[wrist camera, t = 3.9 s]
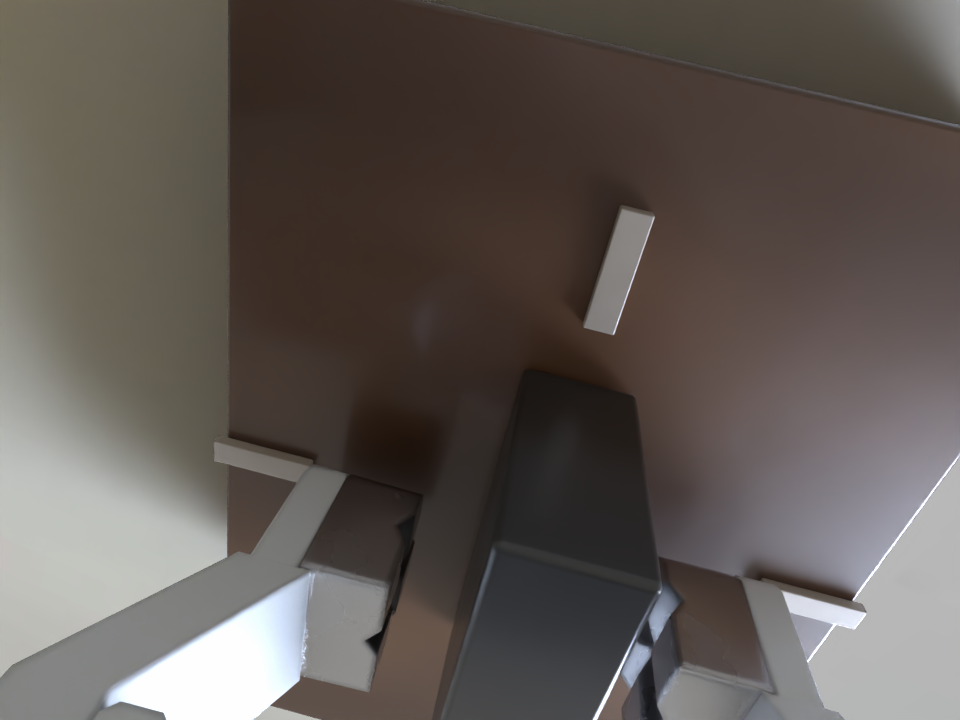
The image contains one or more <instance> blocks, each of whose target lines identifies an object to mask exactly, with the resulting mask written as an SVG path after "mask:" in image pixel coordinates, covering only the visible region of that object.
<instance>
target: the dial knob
mask: <svg viewBox="0 0 960 720" xmlns="http://www.w3.org/2000/svg"><path fill="white" fill-rule="evenodd" d="M661 592H662V581H661V574H660V567H659V560H658V553H657V545H656V538H655V531H654V524H653V517H652V510H651V502H650V495H649V488H648V481H647V474H646V466H645V459H644V452H643V445H642V438H641V430H640V423H639V416H638V409H637V402H636V398H635V397H634V396H632V395H630V394H626V393H622V392H618V391H615V390H611V389H607V388H603V387H599V386H595V385H591V384H587V383H583V382H579V381H575V380H571V379H567V378H563V377H559V376H555V375H551V374H547V373H543V372H540V371H536V370H532V369H527V370H525V372H524V373H523V374H522V377H521V381H520V385H519V388H518V392H517V395H516V399H515V403H514V406H513V410H512V414H511V417H510V421H509V425H508V428H507V432H506V435H505V439H504V443H503V446H502V450H501V454H500V457H499V461H498V465H497V468H496V472H495V475H494V479H493V483H492V486H491V490H490V494H489V497H488V501H487V505H486V508H485V512H484V515H483V519H482V523H481V526H480V530H479V534H478V537H477V541H476V544H475V548H474V552H473V555H472V559H471V563H470V566H469V570H468V574H467V577H466V581H465V584H464V588H463V592H462V595H461V599H460V603H459V606H458V610H457V614H456V617H455V621H454V624H453V628H452V632H451V636H450V641H449V645H448V649H447V654H446V658H445V663H444V667H443V672H442V676H441V681H440V685H439V690H438V694H437V699H436V703H435V707H434V712H433V716H432V720H597V718H598V717H599V715H600V713H601V711H602V709H603V707H604V705H605V703H606V701H607V699H608V697H609V695H610V693H611V691H612V689H613V687H614V685H615V683H616V681H617V679H618V677H619V675H620V673H621V671H622V669H623V667H624V665H625V663H626V661H627V659H628V657H629V655H630V653H631V651H632V649H633V647H634V645H635V643H636V641H637V639H638V638H639V636H640V634H641V632H642V630H643V628H644V626H645V624H646V622H647V620H648V618H649V616H650V614H651V612H652V610H653V608H654V606H655V604H656V602H657V600H658V598H659V596H660V594H661Z"/></svg>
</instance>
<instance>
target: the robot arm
mask: <svg viewBox="0 0 960 720" xmlns="http://www.w3.org/2000/svg"><path fill="white" fill-rule="evenodd" d="M422 504H423V495H422V494H419V493H415V492H412V491H408V490H405V489H401V488H398V487H395V486H391V485H388V484H384V483H381V482H377V481H374V480H370V479H367V478H363V477H360V476H356V475H353V474H350V475H349V474H346V473H343V472H339V471H336V470H332V469H329V468H326V467H322V466H319V465H315V464H313V465H312V466H310V467H309V468H308V469H306V470H305V471H304V473H303V474H302V476H301V477H300V479H299V480H298V482H297V483H296V485H295V487H294V488H293V490H292V491H291V493H290V494H289V496H288V497H287V499H286V500H285V502H284V504H283V505H282V507H281V508H280V510H279V511H278V513H277V514H276V516H275V517H274V519H273V521H272V522H271V524H270V525H269V527H268V528H267V530H266V531H265V533H264V535H263V536H262V538H261V539H260V541H259V542H258V544H257V545H256V547H255V548H254V550H253V552H252V553H251V554H247V553H242V552H237V553H235V554H233V555H231V556H229V557H227V558H225V559H223V560H221V561H219V562H217V563H215V564H213V565H211V566H209V567H207V568H205V569H203V570H201V571H199V572H197V573H195V574H193V575H191V576H189V577H187V578H185V579H183V580H181V581H179V582H177V583H175V584H173V585H171V586H169V587H167V588H165V589H163V590H161V591H159V592H157V593H155V594H153V595H151V596H149V597H147V598H145V599H143V600H141V601H139V602H137V603H135V604H133V605H131V606H129V607H127V608H125V609H123V610H121V611H119V612H117V613H115V614H113V615H111V616H109V617H107V618H105V619H103V620H101V621H99V622H97V623H95V624H93V625H91V626H89V627H87V628H85V629H83V630H81V631H79V632H77V633H75V634H73V635H71V636H69V637H67V638H65V639H63V640H61V641H59V642H57V643H55V644H53V645H51V646H49V647H47V648H45V649H43V650H41V651H39V652H37V653H35V654H33V655H31V656H29V657H27V658H25V659H23V660H21V661H19V662H17V663H15V664H13V665H12V666H11V667H10V668H9V669H8V670H7V671H6V672H5V673H4V675H3V676H2V677H1V678H0V720H253V719H255V718H256V717H257V716H258V715H259V714H261V713H262V712H263V711H264V710H265V709H266V708H268V707H269V706H270V705H271V704H272V703H274V702H275V701H276V700H277V699H278V698H279V697H281V696H282V695H283V694H284V693H285V692H287V691H288V690H289V689H290V688H291V687H292V686H294V685H295V684H296V683H297V682H298V681H300V676H304V677H308V678H312V679H316V680H320V681H324V682H328V683H332V684H336V685H341V686H345V687H349V688H353V689H357V690H361V691H365V692H370V689H371V686H372V683H373V680H374V677H375V674H376V671H377V668H378V665H379V662H380V659H381V656H382V653H383V650H384V647H385V644H386V639H387V635H388V630H389V625H390V620H391V616H393V615H394V614H395V613H396V610H397V607H398V604H399V601H400V598H401V594H402V591H403V587H404V584H405V581H406V577H407V574H408V570H409V566H410V562H411V557H412V553H413V549H414V544H415V541H414V540H413V537H414V534H415V531H416V528H417V525H418V522H419V519H420V515H421V509H422ZM658 560H659V567H660V574H661V581H662V592H661V594H660V596H659V598H658V600H657V602H656V604H655V606H654V608H653V610H652V612H651V614H650V616H649V618H648V620H647V622H646V624H645V626H644V628H643V630H642V632H641V634H640V636H639V638H638V639H637V641H636V643H635V645H634V647H633V649H632V651H631V653H630V655H629V657H628V659H627V661H626V663H625V665H624V667H623V669H622V671H621V673H620V675H621V677H622V678H623V680H624V681H625V683H626V685H627V686H628V688H629V689H630V692H629V694H628V696H627V698H626V700H625V702H624V704H623V705H622V707H621V711H622V720H844V719H843V717H842V716H841V715H840V714H839V713H838V712H835V711H831V710H828V709H825V708H824V705H823V703H822V700H821V697H820V694H819V692H818V689H817V686H816V683H815V681H814V678H813V675H812V672H811V670H810V667H809V664H808V661H807V659H806V656H805V653H804V650H803V648H802V645H801V642H800V639H799V637H798V634H797V631H796V628H795V626H794V623H793V620H792V617H791V614H790V612H789V609H788V606H787V603H786V601H785V598H784V595H783V593H782V592H781V590H780V589H779V588H778V587H777V586H776V585H774V584H770V583H765V582H761V581H757V580H753V579H749V578H745V577H741V576H737V575H735V576H732V575H730V574H727V573H723V572H719V571H715V570H711V569H707V568H703V567H699V566H695V565H691V564H687V563H683V562H679V561H675V560H671V559H668V558H664V557H660V556H658Z"/></svg>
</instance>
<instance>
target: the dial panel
mask: <svg viewBox="0 0 960 720" xmlns="http://www.w3.org/2000/svg"><path fill="white" fill-rule="evenodd" d="M527 369H532V370H536V371H540V372H543V373H547V374H551V375H555V376H559V377H563V378H567V379H571V380H575V381H579V382H583V383H587V384H591V385H595V386H599V387H603V388H607V389H611V390H615V391H618V392H622V393H626V394H630V395H632V396H634V397H635V398H636V402H637V409H638V416H639V423H640V430H641V438H642V445H643V452H644V459H645V466H646V474H647V481H648V488H649V495H650V502H651V510H652V517H653V524H654V531H655V538H656V545H657V553H658V556H660V557H664V558H668V559H671V560H675V561H679V562H683V563H687V564H691V565H695V566H699V567H703V568H707V569H711V570H715V571H719V572H723V573H727V574H730V575H732V576H735V575H737V576H741V577H745V578H749V579H753V580H757V581H761V582H765V583H770V584H774V585H776V586H777V587H778V588H779V589H780V590H781V592H782V593H783V595H784V598H785V601H786V603H787V606H788V609H789V612H790V614H791V617H792V620H793V623H794V626H795V628H796V631H797V634H798V637H799V639H800V642H801V645H802V648H803V650H804V653H805V656H806V659H807V661H808V662H809V661H810V659H811V658H812V656H813V655H814V654H815V652H816V651H817V650H818V648H819V647H820V646H821V644H822V643H823V642H824V640H825V639H826V637H827V636H828V635H829V633H830V632H831V631H832V629H833V628H834V627H835V625H839V626H843V627H846V628H850V629H855V628H856V626H857V625H858V624H859V623H860V621H861V620H862V619H863V617H864V616H865V615H866V613H867V612H866V610H865V608H864V606H863V604H861V603H857V602H853V601H854V599H855V598H856V597H857V595H858V594H859V593H860V591H861V590H862V589H863V587H864V586H865V585H866V583H867V582H868V580H869V579H870V578H871V576H872V575H873V574H874V572H875V571H876V570H877V568H878V567H879V566H880V564H881V563H882V561H883V560H884V559H885V557H886V556H887V555H888V553H889V552H890V551H891V549H892V548H893V547H894V545H895V544H896V542H897V541H898V540H899V538H900V537H901V536H902V534H903V533H904V532H905V530H906V529H907V528H908V526H909V525H910V524H911V522H912V521H913V519H914V518H915V517H916V515H917V514H918V513H919V511H920V510H921V509H922V507H923V506H924V505H925V503H926V502H927V500H928V499H929V498H930V496H931V495H932V494H933V492H934V491H935V490H936V488H937V487H938V486H939V484H940V483H941V481H942V480H943V479H944V477H945V476H946V475H947V473H948V472H949V471H950V469H951V468H952V467H953V465H954V464H955V462H956V461H957V460H958V458H959V457H960V125H957V124H953V123H948V122H944V121H940V120H936V119H931V118H927V117H923V116H918V115H914V114H910V113H906V112H901V111H897V110H893V109H888V108H884V107H880V106H876V105H871V104H867V103H863V102H858V101H854V100H850V99H845V98H841V97H837V96H833V95H828V94H824V93H820V92H815V91H811V90H807V89H803V88H798V87H794V86H790V85H785V84H781V83H777V82H772V81H768V80H764V79H760V78H755V77H751V76H747V75H742V74H738V73H734V72H730V71H725V70H721V69H717V68H712V67H708V66H704V65H700V64H695V63H691V62H687V61H682V60H678V59H674V58H669V57H665V56H661V55H657V54H652V53H648V52H644V51H639V50H635V49H631V48H627V47H622V46H618V45H614V44H609V43H605V42H601V41H596V40H592V39H588V38H584V37H579V36H575V35H571V34H566V33H562V32H558V31H554V30H549V29H545V28H541V27H536V26H532V25H528V24H524V23H519V22H515V21H511V20H506V19H502V18H498V17H493V16H489V15H485V14H481V13H476V12H472V11H468V10H463V9H459V8H455V7H451V6H446V5H442V4H438V3H433V2H429V1H425V0H228V437H224V436H218V437H217V438H216V439H215V440H214V461H217V462H221V463H225V464H228V508H227V557H229V556H231V555H233V554H235V553H237V552H242V553H247V554H251V553H252V552H253V550H254V548H255V547H256V545H257V544H258V542H259V541H260V539H261V538H262V536H263V535H264V533H265V531H266V530H267V528H268V527H269V525H270V524H271V522H272V521H273V519H274V517H275V516H276V514H277V513H278V511H279V510H280V508H281V507H282V505H283V504H284V502H285V500H286V499H287V497H288V496H289V494H290V493H291V491H292V490H293V488H294V487H295V485H296V483H297V482H298V480H299V479H300V477H301V476H302V474H303V473H304V471H305V470H306V469H308V468H309V467H310V466H312V465H313V464H315V465H319V466H322V467H326V468H329V469H332V470H336V471H339V472H343V473H346V474H349V475H350V474H353V475H356V476H360V477H363V478H367V479H370V480H374V481H377V482H381V483H384V484H388V485H391V486H395V487H398V488H401V489H405V490H408V491H412V492H415V493H419V494H422V495H423V504H422V509H421V515H420V519H419V522H418V525H417V528H416V531H415V534H414V537H413V540H414V541H415V544H414V549H413V553H412V557H411V562H410V566H409V570H408V574H407V577H406V581H405V584H404V587H403V591H402V594H401V598H400V601H399V604H398V607H397V610H396V613H395V614H394V615H393V616H391V620H390V625H389V630H388V635H387V639H386V644H385V647H384V650H383V653H382V656H381V659H380V662H379V665H378V668H377V671H376V674H375V677H374V680H373V683H372V686H371V689H370V692H365V691H361V690H357V689H353V688H349V687H345V686H341V685H336V684H332V683H328V682H324V681H320V680H316V679H312V678H308V677H304V676H300V681H298V682H297V683H296V684H295V685H294V686H292V687H291V688H290V689H289V690H288V691H287V692H285V693H284V694H283V695H282V696H281V697H279V698H278V699H277V700H276V701H275V702H274V703H272V704H271V705H270V706H274V707H277V708H281V709H285V710H288V711H292V712H295V713H299V714H303V715H306V716H310V717H313V718H317V719H321V720H432V716H433V712H434V707H435V703H436V699H437V694H438V690H439V685H440V681H441V676H442V672H443V667H444V663H445V658H446V654H447V649H448V645H449V641H450V636H451V632H452V628H453V624H454V621H455V617H456V614H457V610H458V606H459V603H460V599H461V595H462V592H463V588H464V584H465V581H466V577H467V574H468V570H469V566H470V563H471V559H472V555H473V552H474V548H475V544H476V541H477V537H478V534H479V530H480V526H481V523H482V519H483V515H484V512H485V508H486V505H487V501H488V497H489V494H490V490H491V486H492V483H493V479H494V475H495V472H496V468H497V465H498V461H499V457H500V454H501V450H502V446H503V443H504V439H505V435H506V432H507V428H508V425H509V421H510V417H511V414H512V410H513V406H514V403H515V399H516V395H517V392H518V388H519V385H520V381H521V377H522V374H523V373H524V372H525V370H527ZM629 692H630V689H629V688H628V686H627V685H626V683H625V681H624V680H623V678H622V677H621V675H619V677H618V679H617V681H616V683H615V685H614V687H613V689H612V691H611V693H610V695H609V697H608V699H607V701H606V703H605V705H604V707H603V709H602V711H601V713H600V715H599V717H598V718H597V720H622V711H621V707H622V705H623V704H624V702H625V700H626V698H627V696H628V694H629Z"/></svg>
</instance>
